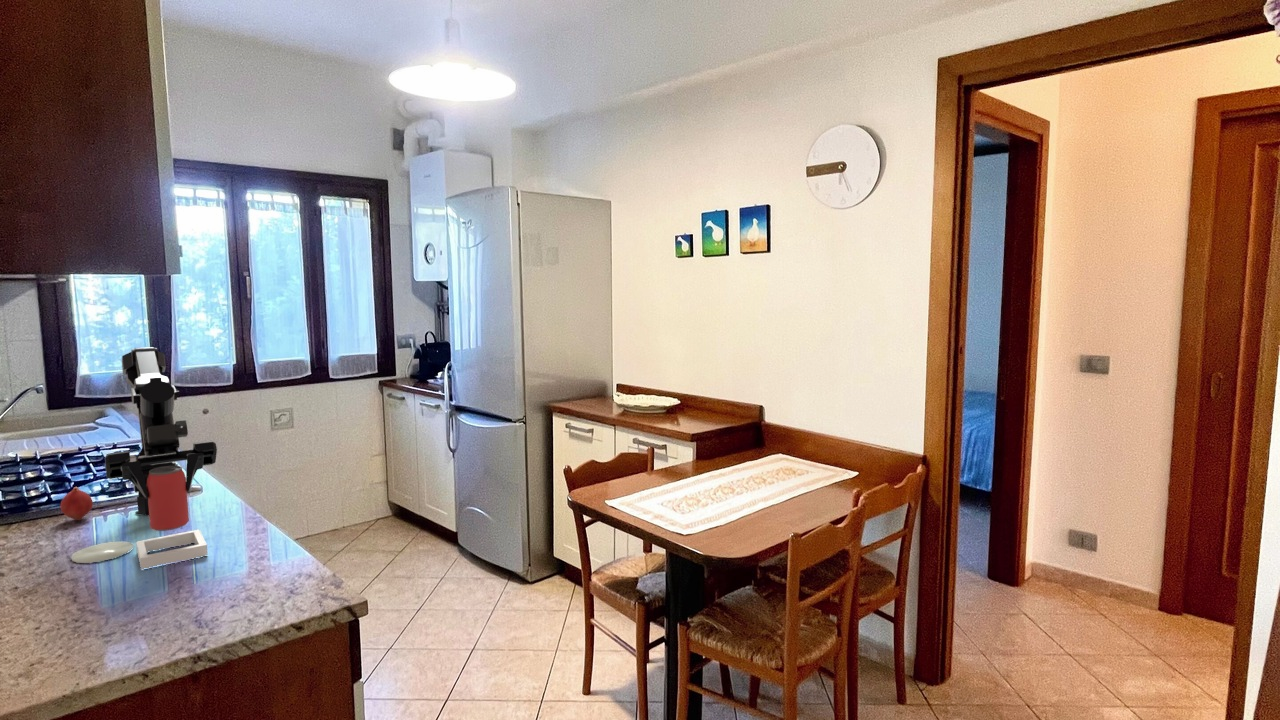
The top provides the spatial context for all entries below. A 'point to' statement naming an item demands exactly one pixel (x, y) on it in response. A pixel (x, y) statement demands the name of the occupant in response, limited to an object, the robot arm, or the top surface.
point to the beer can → (167, 498)
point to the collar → (171, 555)
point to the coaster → (101, 552)
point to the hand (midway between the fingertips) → (168, 494)
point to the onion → (76, 504)
